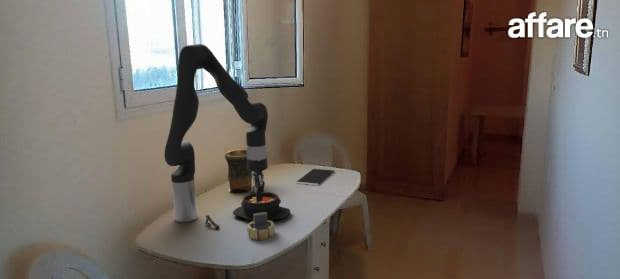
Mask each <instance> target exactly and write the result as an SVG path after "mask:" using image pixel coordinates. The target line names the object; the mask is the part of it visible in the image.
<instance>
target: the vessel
mask: <svg viewBox="0 0 620 279" xmlns="http://www.w3.org/2000/svg"><path fill="white" fill-rule="evenodd" d="M246 150H247V148H245V149H234V150H229V151H227V152H225V154H224V158H225V160H226V163H227V165H228V166H227V167H228V175H227V177H228V179H227V180H228V182H229V183H228V184H229V189H228V193H229V194H232V195H239V196H242V195H249V194H252V192H254V187H252V184H253V183H252V182H253V178H252V174H253V171H249V170H248V169H247V153H246Z"/></svg>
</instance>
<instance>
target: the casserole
mask: <svg viewBox="0 0 620 279" xmlns="http://www.w3.org/2000/svg"><path fill="white" fill-rule="evenodd" d="M262 199H263V200H262V201H261V202H257V201H256V192H253V193H252V192H251V193H248V194H246V195H245V196H243V198H242V201H241V203H240V205H241V206H239V207H236V208H235V209H234V210H233V211H232V215H233V216H236V217H241V218H243V219H245V220H249V221H254V220H253V214H255V213H262V212H266V213H267V220H269V221H270V220H279V219H284V218H286V217H288V216H289V215H290V214H291V209H290V208H288V207H282V206H280V204H281V203H282V200H281V199H280V197H279V195H278V194H276V193H274V192H269V191H268V192H267V191H263V192H262Z"/></svg>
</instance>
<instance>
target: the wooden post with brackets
mask: <svg viewBox="0 0 620 279" xmlns="http://www.w3.org/2000/svg"><path fill="white" fill-rule="evenodd" d="M205 218H206V219H205V223H204V224H206V225H207V226H208V227H209V228H210V227H212V226H213V227H214V230H218V229H220V224H216V222H215V221H214V219H213V218H211V216H210V215H208V214H205Z"/></svg>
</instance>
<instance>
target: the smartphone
mask: <svg viewBox="0 0 620 279" xmlns="http://www.w3.org/2000/svg"><path fill="white" fill-rule="evenodd" d="M333 174H335V170H334V169H323V168H313V169H311V170H310V171H308V172H307V173H306V174H305V175H303V176H302V177H301V178H299V179H298V180H297V181H295V185H301V186H303V185H304V186H310V187H311V186H314V187H319V186H321V185H322V184H323V183H324V182H325V181H326V180H327V179H329V178H330V177H331V176H332V175H333Z"/></svg>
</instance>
